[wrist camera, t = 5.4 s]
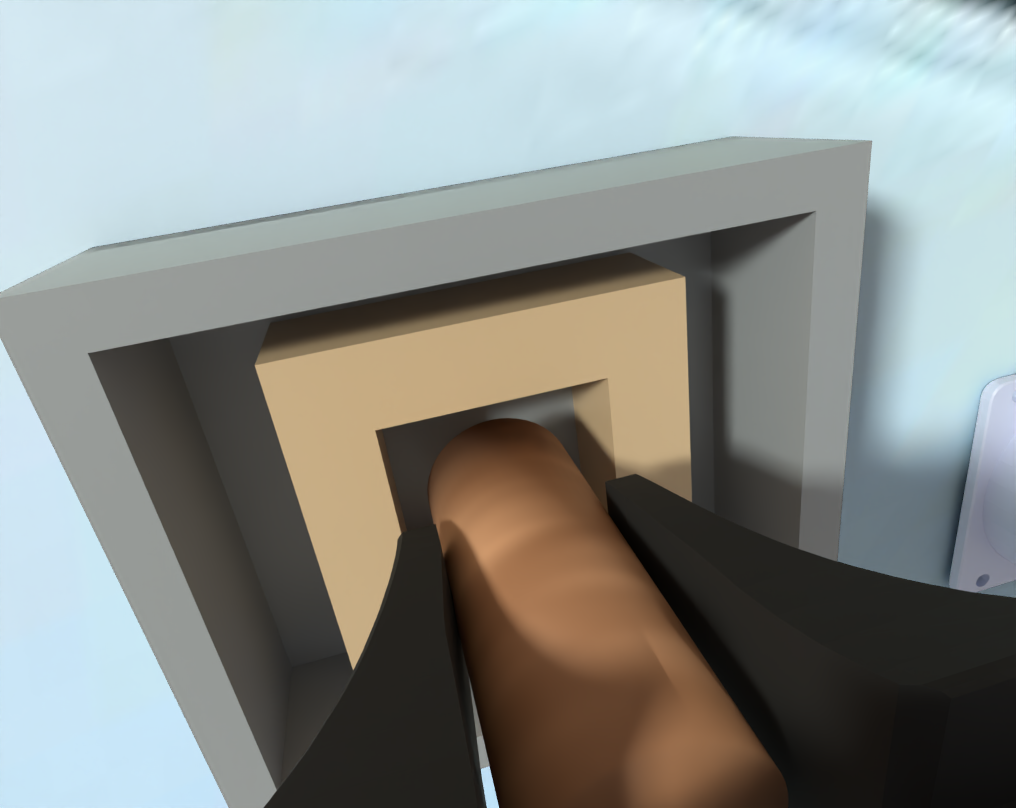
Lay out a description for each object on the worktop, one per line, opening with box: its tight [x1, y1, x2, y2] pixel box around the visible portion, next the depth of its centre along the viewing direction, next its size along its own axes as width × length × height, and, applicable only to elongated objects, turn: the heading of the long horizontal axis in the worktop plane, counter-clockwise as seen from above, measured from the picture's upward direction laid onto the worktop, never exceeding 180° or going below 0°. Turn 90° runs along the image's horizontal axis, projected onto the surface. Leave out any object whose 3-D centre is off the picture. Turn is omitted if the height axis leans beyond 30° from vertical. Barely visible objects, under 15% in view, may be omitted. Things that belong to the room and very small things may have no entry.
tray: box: [0, 137, 872, 808], centre depth 15 cm, size 14×12×4 cm
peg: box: [427, 418, 788, 808], centre depth 11 cm, size 3×3×8 cm
